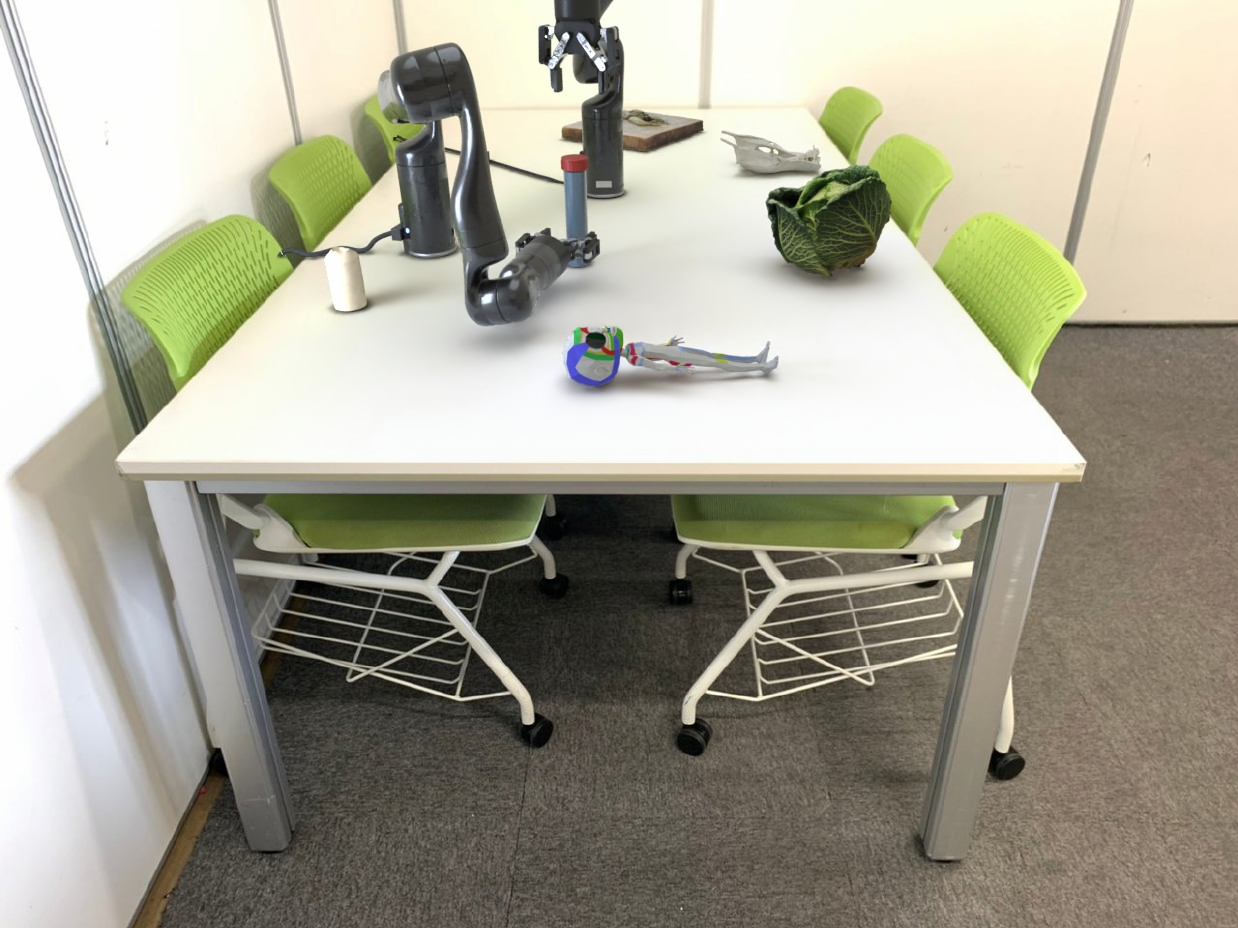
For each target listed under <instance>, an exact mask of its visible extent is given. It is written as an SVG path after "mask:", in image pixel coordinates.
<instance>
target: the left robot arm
mask: <svg viewBox="0 0 1238 928" xmlns="http://www.w3.org/2000/svg"><path fill="white" fill-rule="evenodd" d="M377 100H378V104H379V108H380V110H381V113H382V115H383V117H384V118H385V120H386V121H387V122H389V123H390V124H393V125H399V126H400V125H416V126H417V125H423V127H422V128H421V130H420V131H419V132H417V134H415V135H414V136H412V137H410V138H407V139H408V140H406V141H402V142H400V143H399V144H397V145H396V146H395V147H394V158H395V165H396V171H397V178H398V179H397V180H398V185H399V192H400V198H401V199H400V200H401V202H400V203H398V205H397V209H398V217H399V223H397V224H396V225H395V226H393V227H391V228H390V230H388V231H385V232H382V233H380V234H378V235H376V236H375V237H372V239H371V240H370V242H369V243H368V244H367V245H366V246H363V247H361V248H360V247H353V246H349V245H337V246H336V247H344V248H347V249H351V250H353V251H355V252H356V253H357V254H364V253H368V252H369V251H371V250H372V249H373V248H374V247H375V245H376V244H377V243H378V242H380V241H382V240H383V239H385V238H388V237H391V241H396V242H402V245H403V252H404V254H408V255H410V256H412V257H416V258H423V259H430V258H431V259H432V258H440V257H445V256H448V255H451V254H453V253H454V252H456V251H457V248H458V247H457V243H458V246H459V248H460V249H459V250H460V252H461V256H462V267H463V285H464V307H465V309H466V312H467V314H468V316H469V318H470V319H471V320H472V322H474V323H475V325H477V326H480V327H485V328H486V327H495V326H500V325H501V326H502V325H508V324H509V325H510V324H517V323H521V322H525V321H526V320H528V319H530V318H531V317H532V316H533V315H534V313H535V310H536V306H537V302H538V299H539V296H540V295H541V294H542V293H543V292H544V291H546V290H547V289H549V288H550V287H551V286H553V284H554V283H555V282H556V281H557V280H558V279H559V278H560V277H561V276H562V275H563V274H564V273H565V272H566V270H567V268H568V266H569V265H568V264H569V262H570V261H573V260H575V259H576V258H583V263H586V264H587V263H589V264H590V263H592V262H593V261H594V260H595V259H596V258H597V257H598V256H599V255H600V254H601V240H600V239H599V238H598V234H597V233H596V231H595V230H594V231H592V230H591V231H588V234H587V235H586V236H585V237H584V238H578V237H573V238H569V239H567V238H557V237H555V236H552V228H551V227H545V228H544V229H541V230H540V231H539V232H534V233H533V235H531V233H530V232H525V233H523V234H522V235H521V236H520V237H519V238H517V240H516V241H515V243H514V249H515V256H514V257H513V259H511V260H509V262H508V263H506V264H505V265H504V267H502V269H501V271H500V273H499V275H498V277H495V278H489V269H490V267H491V266H493V265H495V264H498V263H500V262H502V261H504V260H505V259H506V258H507V257H508V256H509V253H510V248H509V243H508V239H507V235H506V232H505V228H504V223H503V222H502V218H501V215H500V211H499V208H498V207H499V206H498V203H497V199H496V195H495V189H494V185H493V180H492V174H491V168H490V163H489V160H488V153H487V151H488V148H487V141H486V135H485V130H484V125H483V124H484V123H483V119H482V113H481V107H480V102H479V97H478V91H477V87H476V83H475V78H474V75H473V71H472V69H471V65H470V63H469V60H468V58H467V55H466V54H465V52H464V50H463V48H462V47H461V46H460V45H459V44H458V43H456V42H452V41H451V42H445V43H440V44H436V45H433V46H428V47H424V48H420V49H416V50H411V51H407V52H404V53H402V54H399V55H397V56H396V57H394V58H393V59H392V60H391V62H390V65H389V69H387V70H384V71H383V72H382V73H380V75H379V78H378V80H377ZM454 117H458V120H459V124H460V133H461V146H460V147H461V148H460V151H461V153H460V154H459V160H458V163H457V164H458V165H457V169H456V172H455V176H454V180H453V184H452V188H451V191H450V183H449V181H450V180H449V175H448V166H447V157H446V151H445V148H444V147H445V142H444V139H445V138H444V131H443V120H446V119H450V118H454ZM456 240H457V243H456ZM571 243H574V246H573V245H572V244H571ZM582 243H585V246H583V249H582V247H581V245H582ZM333 247H334V246H333ZM333 247H328V248H326V249H322V250H317V251H304V250H300V249H297V248H294V247H284V248H282V249H281V250H280V251H282V253H283V255H284V256H285V255H286V254H290V253H291V254H294V255H297V256H300V257H304V258H318V257H322V256H327V254H328V253H329V252H330V250H331V249H332V248H333ZM280 251H279V252H278V253H277V255H276V257H278V258H280V257H284V256H283V255H282V254H281V252H280Z"/></svg>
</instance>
